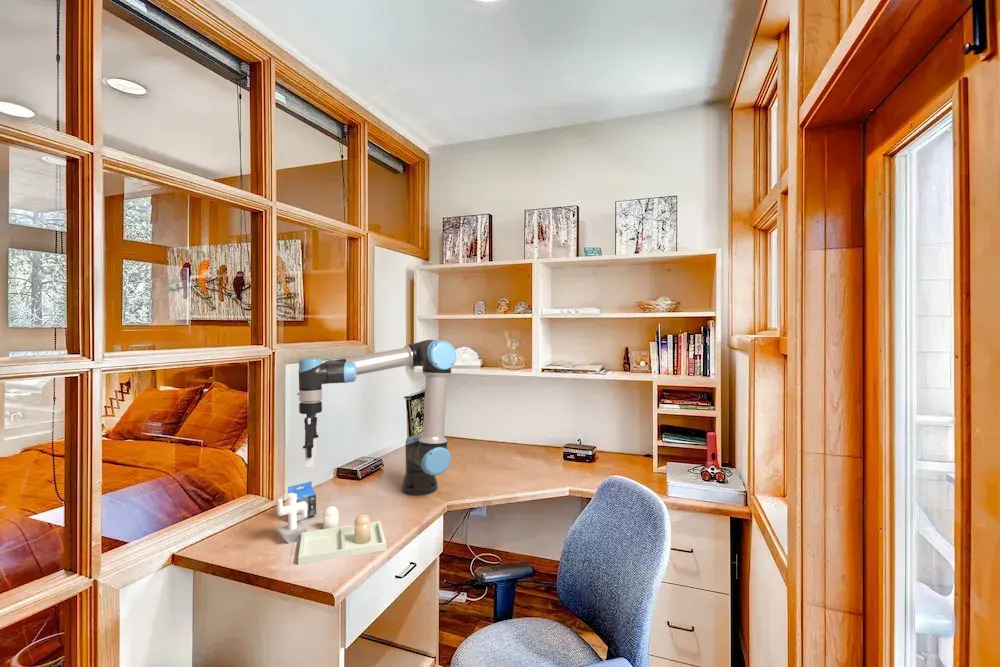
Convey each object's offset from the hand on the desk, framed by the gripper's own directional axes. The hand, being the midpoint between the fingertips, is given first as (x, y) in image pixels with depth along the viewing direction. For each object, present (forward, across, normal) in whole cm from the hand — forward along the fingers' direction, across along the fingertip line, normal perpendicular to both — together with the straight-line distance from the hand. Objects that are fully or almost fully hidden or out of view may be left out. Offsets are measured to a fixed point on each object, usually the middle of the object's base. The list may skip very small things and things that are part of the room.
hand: (311, 461), depth 163 cm
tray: (+22, +22, +11) cm, 33 cm away
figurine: (+23, +10, -5) cm, 25 cm away
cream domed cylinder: (+23, +8, +7) cm, 25 cm away
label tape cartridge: (+23, -7, -4) cm, 24 cm away
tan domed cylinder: (+22, +21, +17) cm, 35 cm away
